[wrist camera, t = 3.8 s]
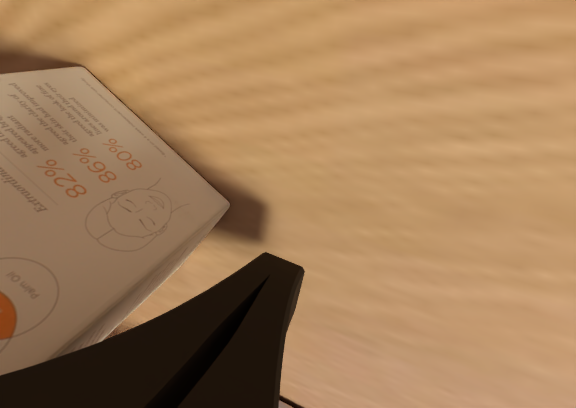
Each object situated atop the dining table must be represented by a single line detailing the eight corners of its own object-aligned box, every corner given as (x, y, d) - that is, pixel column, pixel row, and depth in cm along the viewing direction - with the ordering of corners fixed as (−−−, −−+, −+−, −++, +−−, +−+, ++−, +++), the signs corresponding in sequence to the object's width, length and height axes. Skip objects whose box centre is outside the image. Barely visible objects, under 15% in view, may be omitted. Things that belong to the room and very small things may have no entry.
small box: (63, 156, 15) (-407, 313, 7) (85, 60, 12) (-782, 130, 3) (183, 267, 16) (-121, 552, 7) (237, 204, 12) (-211, 595, 4)
